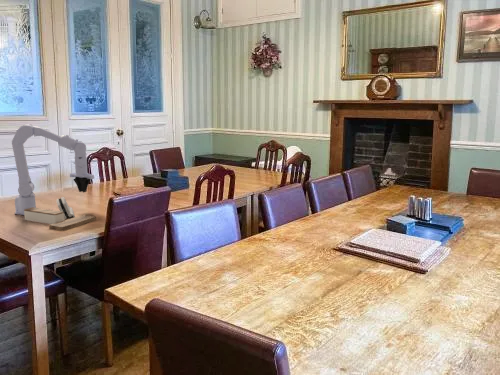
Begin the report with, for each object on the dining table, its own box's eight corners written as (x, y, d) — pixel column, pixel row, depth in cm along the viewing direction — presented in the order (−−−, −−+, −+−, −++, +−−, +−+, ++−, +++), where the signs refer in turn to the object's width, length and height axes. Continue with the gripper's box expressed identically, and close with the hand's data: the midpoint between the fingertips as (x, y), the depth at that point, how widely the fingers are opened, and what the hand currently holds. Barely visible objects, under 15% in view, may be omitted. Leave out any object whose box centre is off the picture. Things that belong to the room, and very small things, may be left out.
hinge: (75, 218, 224) (66, 199, 221) (65, 222, 223) (56, 203, 220) (73, 210, 239) (64, 193, 236) (64, 214, 238) (55, 196, 235)
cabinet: (24, 219, 221) (23, 209, 220) (33, 217, 225) (32, 207, 224) (55, 224, 212) (54, 214, 212) (64, 222, 217) (63, 211, 216)
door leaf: (49, 228, 207) (48, 225, 206) (82, 218, 225) (82, 215, 224) (62, 230, 203) (62, 227, 203) (95, 219, 221) (95, 216, 221)
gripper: (97, 165, 237) (99, 191, 240) (76, 163, 243) (78, 189, 246) (87, 167, 231) (89, 194, 234) (65, 165, 237) (67, 191, 240)
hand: (82, 191), depth 239 cm, fingers closed
